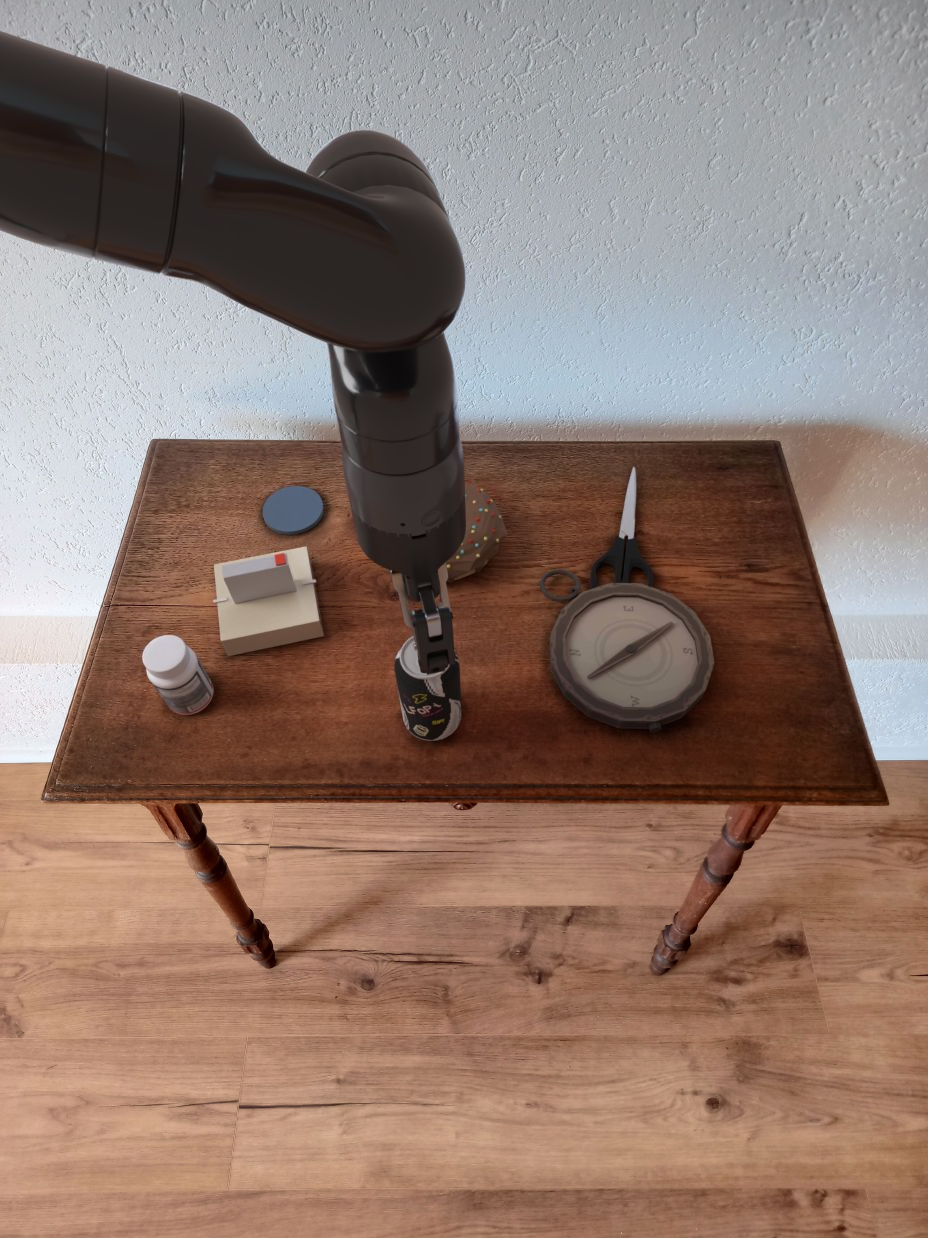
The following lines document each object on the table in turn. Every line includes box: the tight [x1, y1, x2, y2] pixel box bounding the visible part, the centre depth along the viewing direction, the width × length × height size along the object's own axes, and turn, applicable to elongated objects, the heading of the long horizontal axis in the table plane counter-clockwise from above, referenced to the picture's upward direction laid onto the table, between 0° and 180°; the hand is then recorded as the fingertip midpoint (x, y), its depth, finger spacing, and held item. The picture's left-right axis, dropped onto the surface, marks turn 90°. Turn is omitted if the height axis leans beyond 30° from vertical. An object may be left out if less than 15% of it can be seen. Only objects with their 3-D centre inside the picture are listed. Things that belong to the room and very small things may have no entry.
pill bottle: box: [141, 634, 215, 716], centre depth 78 cm, size 5×5×8 cm
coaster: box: [262, 485, 325, 536], centre depth 94 cm, size 7×7×1 cm
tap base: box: [212, 545, 325, 657], centre depth 85 cm, size 11×10×3 cm
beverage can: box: [393, 635, 463, 742], centre depth 74 cm, size 6×6×12 cm
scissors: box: [590, 466, 655, 589], centre depth 91 cm, size 7×1×20 cm
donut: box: [446, 481, 509, 584], centre depth 89 cm, size 14×14×5 cm
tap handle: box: [222, 553, 297, 603], centre depth 82 cm, size 6×2×5 cm, turn 104°
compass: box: [538, 568, 715, 734], centre depth 82 cm, size 20×16×2 cm
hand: (422, 623), depth 65 cm, fingers open, 8 cm apart
